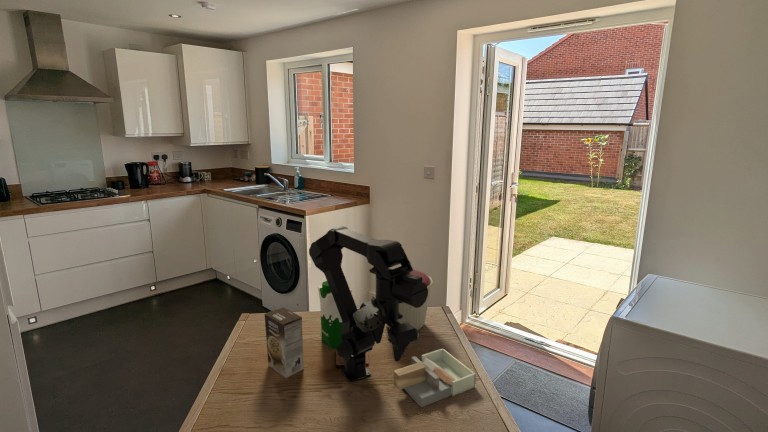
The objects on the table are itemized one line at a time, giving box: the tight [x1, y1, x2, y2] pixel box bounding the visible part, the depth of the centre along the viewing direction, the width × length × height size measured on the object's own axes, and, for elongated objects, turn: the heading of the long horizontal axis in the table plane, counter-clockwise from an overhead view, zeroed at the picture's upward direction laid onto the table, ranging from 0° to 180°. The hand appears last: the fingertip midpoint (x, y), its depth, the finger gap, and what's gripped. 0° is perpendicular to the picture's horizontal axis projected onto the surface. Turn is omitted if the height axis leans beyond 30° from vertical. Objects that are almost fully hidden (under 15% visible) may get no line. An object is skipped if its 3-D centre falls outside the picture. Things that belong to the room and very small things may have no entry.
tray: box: [421, 348, 476, 397], centre depth 112 cm, size 14×7×4 cm, turn 29°
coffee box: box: [263, 306, 305, 379], centre depth 115 cm, size 9×6×16 cm
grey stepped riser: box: [393, 360, 452, 408], centre depth 108 cm, size 13×9×2 cm
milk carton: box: [317, 280, 353, 350], centre depth 128 cm, size 9×9×20 cm
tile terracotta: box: [435, 368, 455, 385], centre depth 108 cm, size 4×4×2 cm
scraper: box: [393, 355, 439, 391], centre depth 106 cm, size 11×9×4 cm
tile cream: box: [423, 358, 446, 372], centre depth 113 cm, size 4×4×2 cm
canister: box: [385, 269, 434, 331], centre depth 138 cm, size 18×18×21 cm
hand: (387, 351), depth 103 cm, fingers open, 9 cm apart
